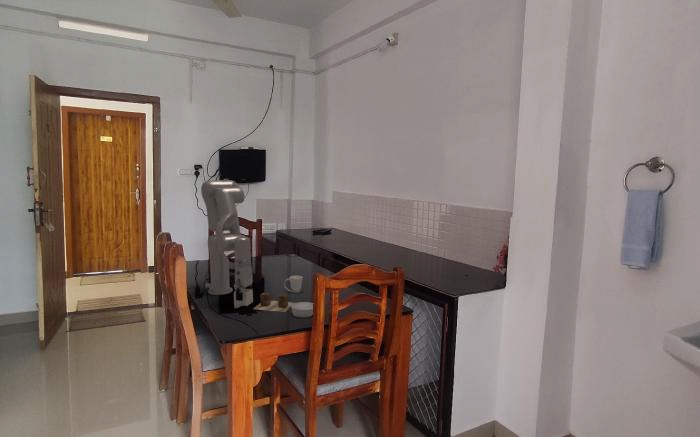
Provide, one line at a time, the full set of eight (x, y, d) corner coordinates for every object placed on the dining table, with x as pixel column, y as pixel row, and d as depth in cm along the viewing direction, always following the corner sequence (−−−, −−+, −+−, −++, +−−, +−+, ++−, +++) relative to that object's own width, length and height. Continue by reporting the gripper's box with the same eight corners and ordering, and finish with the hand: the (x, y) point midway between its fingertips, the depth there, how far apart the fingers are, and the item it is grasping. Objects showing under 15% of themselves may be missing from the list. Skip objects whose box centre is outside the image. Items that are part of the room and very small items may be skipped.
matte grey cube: (234, 307, 207) (233, 292, 206) (240, 303, 213) (240, 288, 212) (246, 308, 205) (246, 293, 204) (252, 304, 212) (252, 289, 211)
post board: (252, 312, 201) (252, 297, 200) (264, 303, 214) (264, 289, 213) (285, 315, 197) (284, 300, 196) (295, 305, 211) (295, 291, 210)
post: (278, 307, 203) (278, 296, 202) (281, 305, 207) (281, 293, 206) (285, 307, 202) (285, 296, 202) (288, 305, 206) (288, 294, 205)
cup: (302, 293, 231) (302, 278, 230) (283, 293, 230) (283, 279, 229) (302, 289, 238) (302, 275, 237) (284, 289, 237) (284, 275, 236)
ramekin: (316, 321, 190) (316, 309, 189) (290, 321, 189) (290, 310, 189) (316, 312, 201) (316, 301, 201) (292, 313, 200) (291, 302, 200)
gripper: (241, 266, 197) (243, 303, 199) (257, 259, 214) (258, 293, 215) (226, 266, 199) (228, 302, 200) (243, 259, 215) (245, 292, 217)
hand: (244, 297), depth 208 cm, fingers open, 9 cm apart
